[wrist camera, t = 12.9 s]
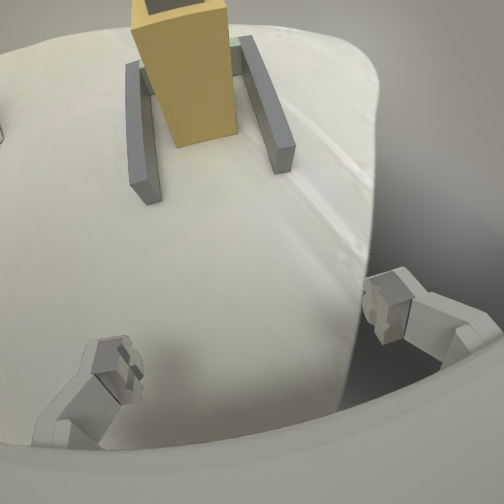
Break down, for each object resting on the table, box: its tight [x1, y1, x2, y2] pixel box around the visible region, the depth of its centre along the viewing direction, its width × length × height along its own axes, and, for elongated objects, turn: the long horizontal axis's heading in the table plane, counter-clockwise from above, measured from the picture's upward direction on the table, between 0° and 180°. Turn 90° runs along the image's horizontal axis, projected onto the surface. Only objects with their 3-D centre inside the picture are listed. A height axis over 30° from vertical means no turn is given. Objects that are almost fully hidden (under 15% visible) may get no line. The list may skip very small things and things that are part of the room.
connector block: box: [131, 0, 237, 148], centre depth 15 cm, size 4×4×11 cm
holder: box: [125, 35, 296, 205], centre depth 18 cm, size 9×10×3 cm
